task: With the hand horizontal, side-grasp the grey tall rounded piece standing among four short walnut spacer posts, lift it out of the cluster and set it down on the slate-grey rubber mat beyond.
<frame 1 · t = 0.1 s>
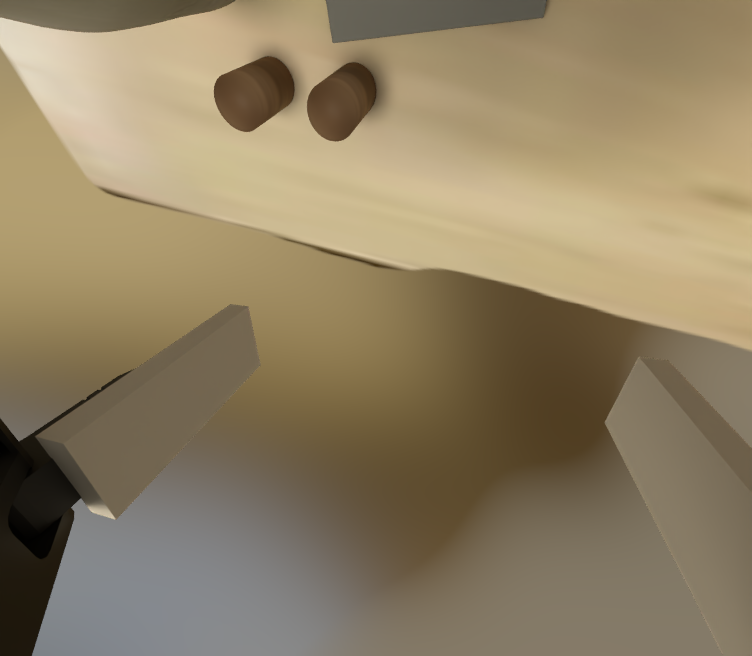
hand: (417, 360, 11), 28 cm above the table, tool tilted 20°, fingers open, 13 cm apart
spacer 1: (274, 83, 31), on the table
spacer 3: (355, 90, 30), on the table
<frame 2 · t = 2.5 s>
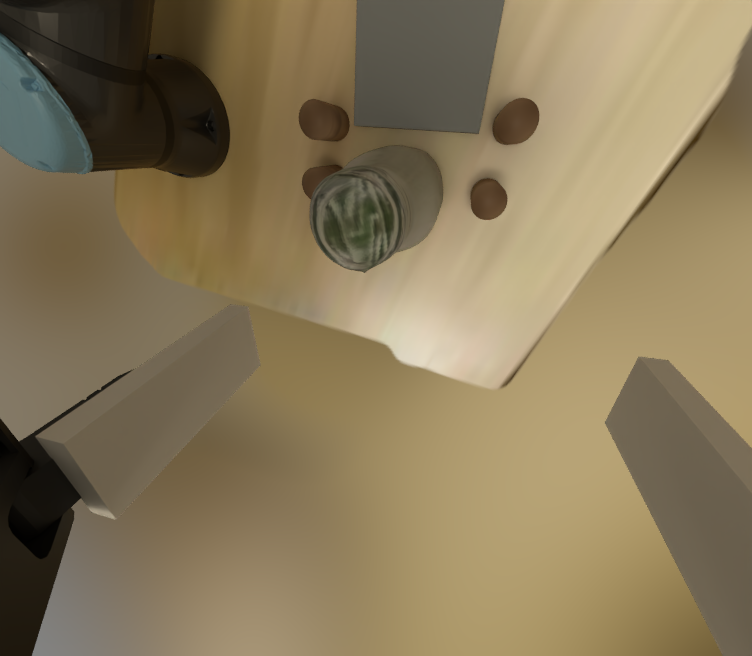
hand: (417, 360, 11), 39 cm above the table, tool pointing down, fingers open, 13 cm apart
spacer 1: (485, 194, 43), on the table
grey tall rounded piece: (409, 187, 45), on the table
spacer 4: (335, 123, 43), on the table
mat: (424, 49, 37), on the table
spacer 3: (510, 125, 39), on the table
spacer 2: (335, 180, 47), on the table
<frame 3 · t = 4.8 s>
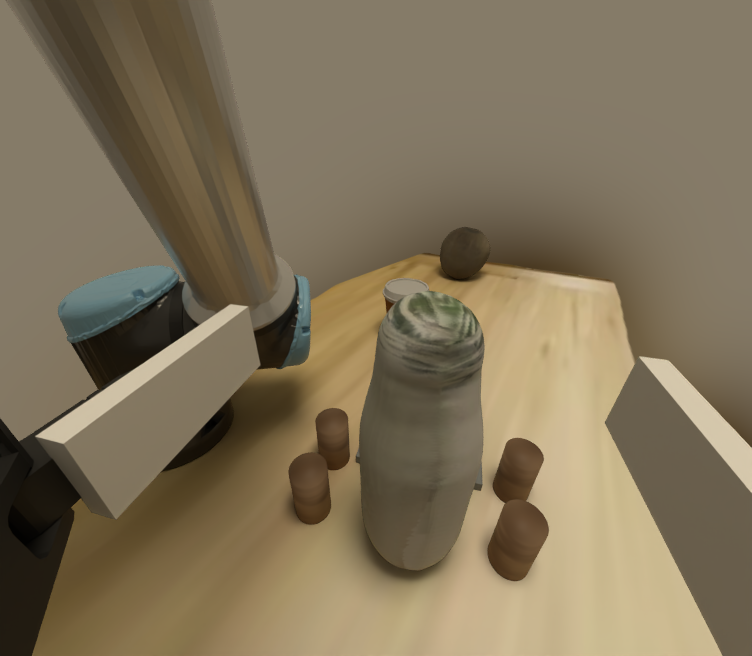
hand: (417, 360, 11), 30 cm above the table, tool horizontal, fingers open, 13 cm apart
coconut: (460, 277, 100), on the table
spacer 1: (507, 557, 33), on the table
grey tall rounded piece: (407, 532, 35), on the table
spacer 4: (334, 456, 43), on the table
disposable coffee cup: (403, 338, 69), on the table
spacer 3: (509, 489, 39), on the table
spacer 2: (313, 506, 37), on the table
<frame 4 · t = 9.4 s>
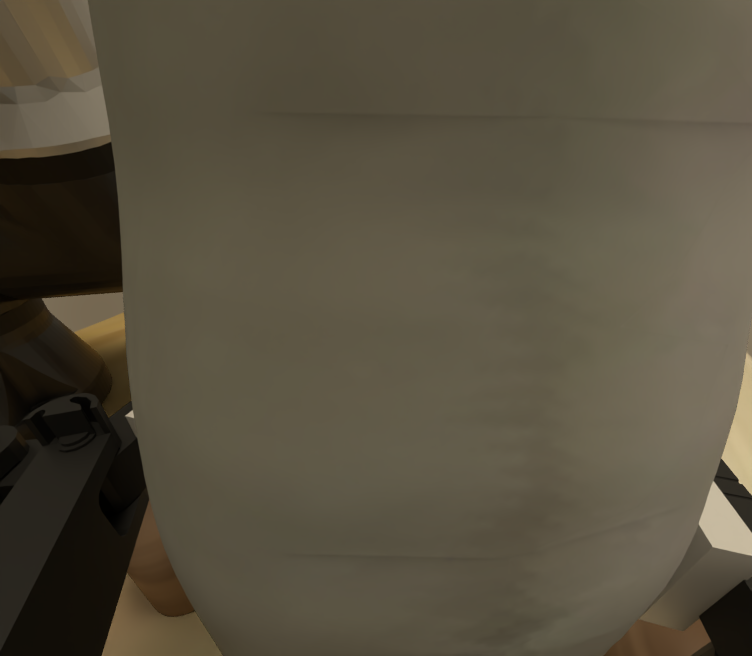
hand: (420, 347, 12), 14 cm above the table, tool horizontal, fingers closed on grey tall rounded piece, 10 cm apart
grey tall rounded piece: (386, 635, 16), on the table, touching gripper
spacer 2: (192, 570, 18), on the table
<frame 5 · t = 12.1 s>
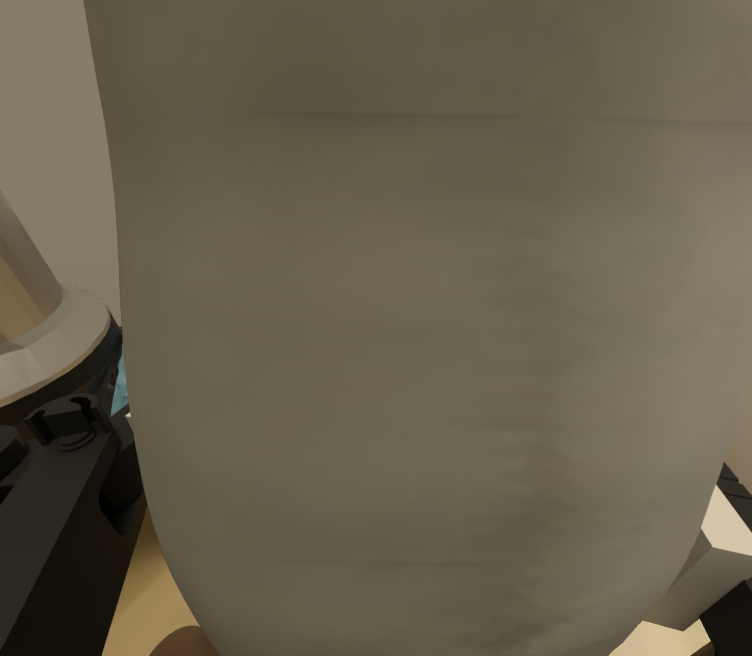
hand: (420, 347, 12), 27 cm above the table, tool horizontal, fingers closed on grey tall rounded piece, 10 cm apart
grey tall rounded piece: (386, 636, 16), point 13 cm above the table, touching gripper
when the fingers open (17 cm above the table, at t = 15.1 s): grey tall rounded piece drops 1 cm, resting on mat.
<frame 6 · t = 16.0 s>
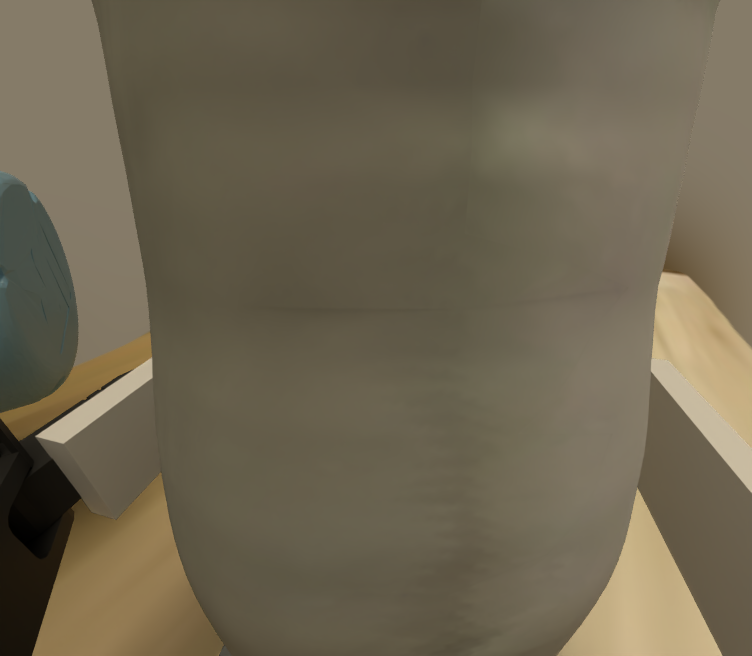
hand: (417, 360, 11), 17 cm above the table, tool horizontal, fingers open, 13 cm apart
grey tall rounded piece: (385, 635, 17), point 1 cm above the table, touching mat
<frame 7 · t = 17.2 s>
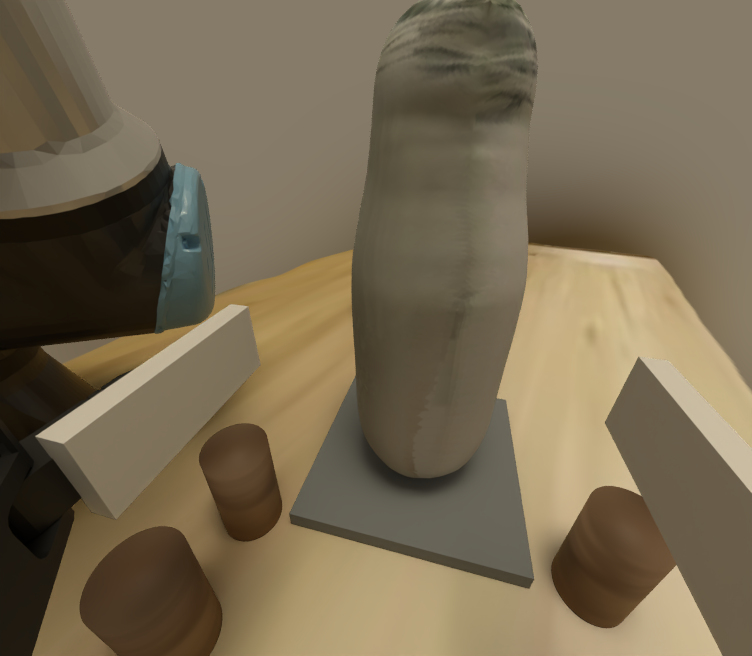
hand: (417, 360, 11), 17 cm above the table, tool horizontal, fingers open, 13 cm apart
grey tall rounded piece: (416, 448, 27), point 1 cm above the table, touching mat
spacer 4: (254, 512, 24), on the table
mat: (416, 455, 28), on the table
spacer 3: (586, 585, 20), on the table
spacer 2: (183, 634, 18), on the table
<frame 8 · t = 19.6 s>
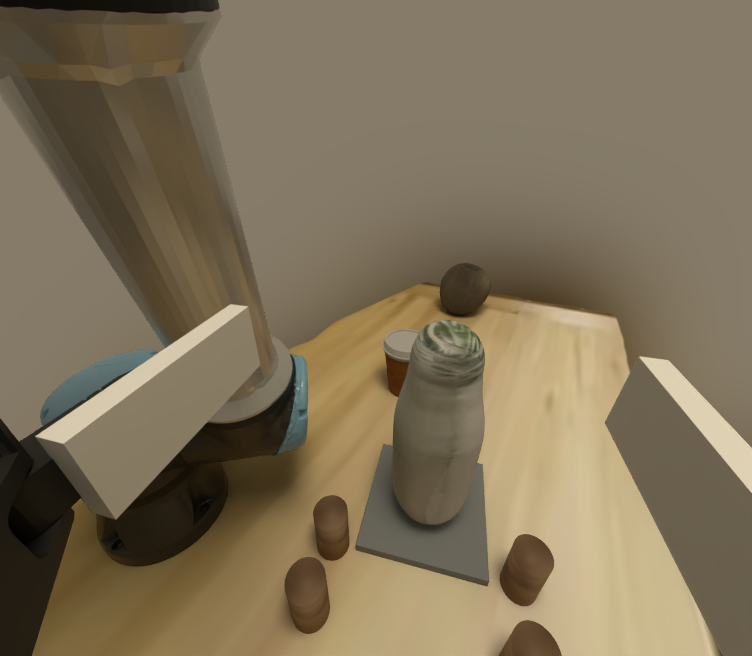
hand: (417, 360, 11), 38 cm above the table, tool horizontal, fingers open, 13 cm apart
coconut: (460, 312, 99), on the table
grey tall rounded piece: (425, 501, 45), point 1 cm above the table, touching mat
spacer 4: (333, 543, 41), on the table
mat: (425, 504, 46), on the table
disposable coffee cup: (403, 388, 68), on the table
spacer 3: (517, 584, 37), on the table
spacer 2: (311, 609, 35), on the table
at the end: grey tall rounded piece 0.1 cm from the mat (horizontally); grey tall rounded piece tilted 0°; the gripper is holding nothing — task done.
